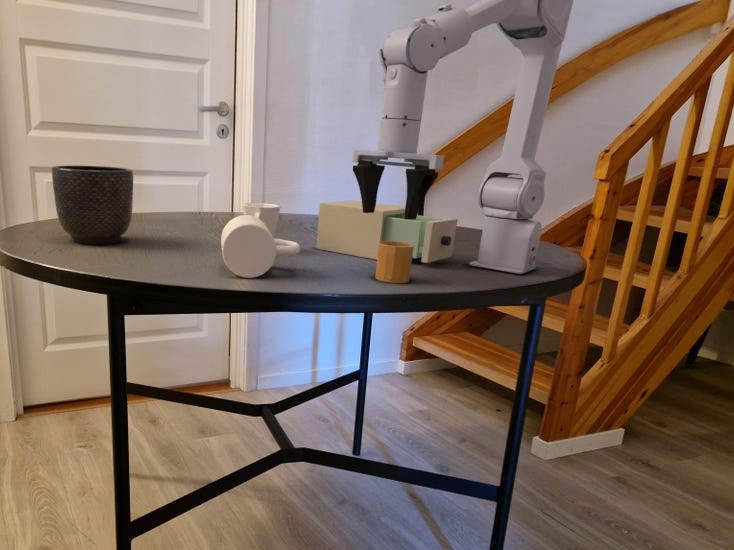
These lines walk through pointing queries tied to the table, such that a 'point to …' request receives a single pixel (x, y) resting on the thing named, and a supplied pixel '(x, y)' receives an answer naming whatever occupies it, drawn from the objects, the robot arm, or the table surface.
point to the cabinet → (352, 227)
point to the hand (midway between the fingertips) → (388, 215)
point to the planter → (93, 202)
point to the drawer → (422, 235)
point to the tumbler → (394, 261)
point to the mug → (252, 246)
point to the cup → (263, 214)
